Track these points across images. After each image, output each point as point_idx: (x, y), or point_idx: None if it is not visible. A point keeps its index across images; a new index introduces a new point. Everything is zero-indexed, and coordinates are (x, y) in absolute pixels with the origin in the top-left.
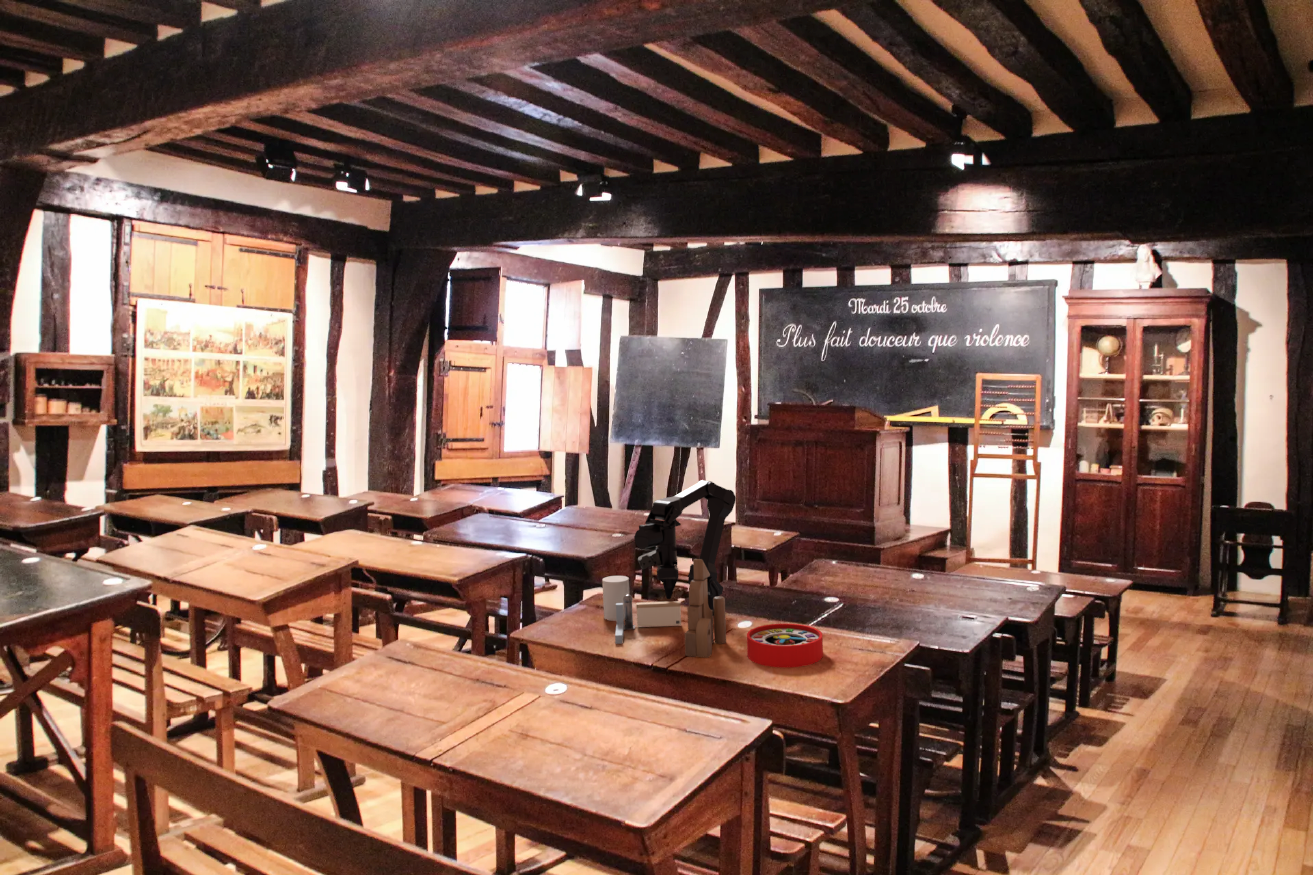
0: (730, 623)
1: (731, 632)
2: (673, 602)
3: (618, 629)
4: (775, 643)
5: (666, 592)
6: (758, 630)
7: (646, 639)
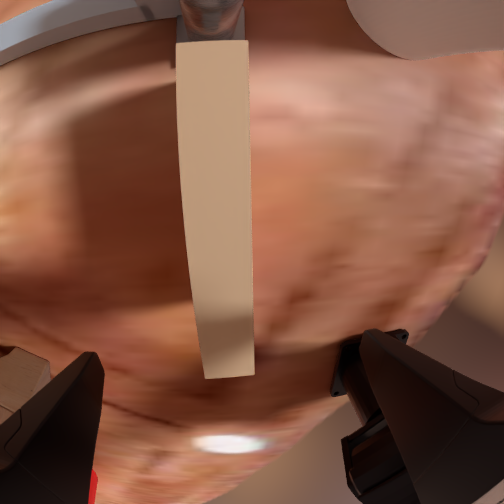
0: (239, 423)
1: (146, 424)
2: (221, 343)
3: (37, 16)
4: None
5: (50, 393)
6: None
7: (22, 156)
